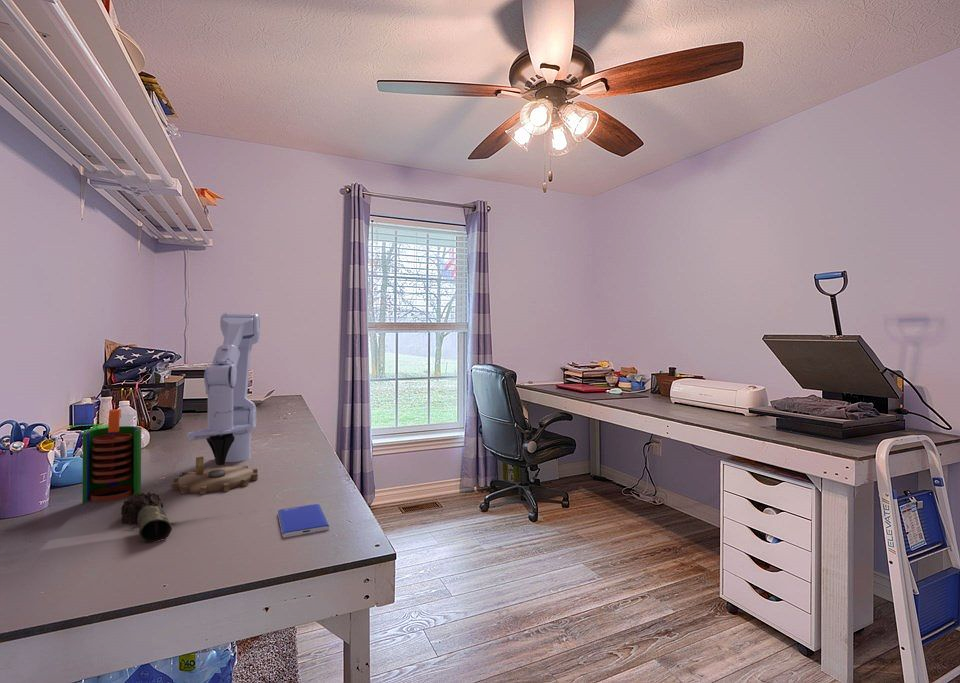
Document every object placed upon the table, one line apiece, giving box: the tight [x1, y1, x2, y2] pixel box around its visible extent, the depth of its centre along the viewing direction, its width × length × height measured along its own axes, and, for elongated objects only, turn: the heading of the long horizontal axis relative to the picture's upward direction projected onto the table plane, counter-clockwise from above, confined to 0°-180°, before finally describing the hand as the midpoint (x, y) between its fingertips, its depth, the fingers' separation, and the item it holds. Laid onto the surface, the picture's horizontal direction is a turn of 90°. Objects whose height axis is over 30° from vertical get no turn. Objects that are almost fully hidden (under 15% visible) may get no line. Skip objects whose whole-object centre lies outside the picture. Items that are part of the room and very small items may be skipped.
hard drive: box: [277, 503, 330, 539], centre depth 91 cm, size 2×8×12 cm
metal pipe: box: [120, 491, 173, 544], centre depth 88 cm, size 18×7×6 cm, turn 41°
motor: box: [81, 408, 142, 506], centre depth 102 cm, size 10×9×20 cm
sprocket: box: [171, 456, 259, 495], centre depth 112 cm, size 18×18×6 cm
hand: (220, 464), depth 117 cm, fingers closed
